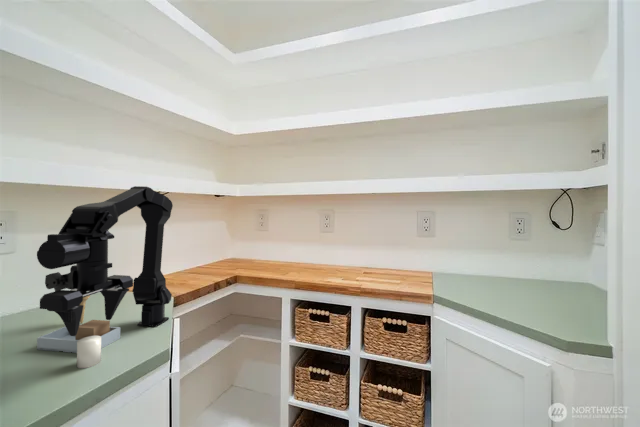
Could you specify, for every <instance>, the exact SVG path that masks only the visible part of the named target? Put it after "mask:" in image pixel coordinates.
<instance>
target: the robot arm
mask: <svg viewBox="0 0 640 427" xmlns="http://www.w3.org/2000/svg"><path fill="white" fill-rule="evenodd" d="M136 207H137V208H138V209H140V216H141V218H142V220H143V221H144V223H145V231H144V232H145V234H144V235H145V236H144V245H143V248H144V249H143V259H142V270H141V273H140V274H139V275H138V276H137V277H134V279H133V277H132V276H130V275H125V274H124V275H123V274H122V275H121V274H120V275H118V274H113V275H110V276H109V275H108V272H109V269H111V268H113V262H109V261H108V260H109V259H108V258H109V249H108V248H109V240H112V239H115V235H114V234H113V233H111V232H110V231H109V230H110V229H112V228H113V227H114V226H115V225H116V223H117V224H118V222H119V217H121V215H124V214H125V213H127V212H128V211H130V210H132V209H133V208H136ZM173 207H174V206H173V202H172V200H171V199H170V198H169V197H168V196H166V195H165V194H162V193H160V192H157V191H156V190H154V189H153V188H151V187H149V186H131V187H130V188H129V189H128V190H126V191H123V192H121V193H119V194H117V195H115V196H113V197H111V198H108V199H106V200H105V201H100V202H93V203H86V204H82V205H77V206H75V207H74V208H72V211H71V214H70V215H69V217H68V219H67V220H66V221H65V223H64V224H63V226H62V227H61V229H60V231H58V233H51V234H47V236H46V238H47V240H46V241H44V242H42V243H41V245H40V246H39V248H38V250H37V252H36V258H37V261H38V262H39V265H41V266H42V268H45V269H49V270H55V269H59V268H63V267H69V266H71V267H70V272H68V273H64V274H61V273H60V272H59V271H57V272H53V273H49V274H46V275H45V280H44V284H45V288H46V289H47V290H52V289H54V291H52V292H49V293H46V294H45V293H44V294H43V295H42V296H41V297H40V299H39V309H40V310H46V311H48V312H55V313H56V314H57V315H58V316H59V317H60V318H61V320H62V322H63V324H64V327H65V326H66V328H67V330H68V332H69V334H70V336H76V334H77V332H78V328H79V324H81V323H80V320H81V315H82V311H83V307H84V306H83V305H80V304H81V302H82V301H83V297H86V296H89V295H90V296H92V295H95V294H97V293H100V294H101V295H102V296H103V298H104V315H105V321H111V320H112V318H113V316H114V315H115V313H116V312H117V309H118V307H119V305H120V304H121V302H122V301H123V299H124V298H125V295H126V294H127V292H129V291H130V288H132V287H133V288H132V290H131V291H132V296H133V299H134V301H135V305H137V306H138V305H141V316H140V317H141V318H140V320H141V321H139V322H138V323H137V322H136V325H137V326H141V327H143V326H144V327H158V326H159V325H162V324H163V323H165V322H166V321H169V319H170V318H169V317H167V316H165V315H166V314H165V309H166V308H165V306H166V305H167V304H170V302H171V300H172V297H173V296H172V293H171V292H170V290H169V289H168V287H167V286H166V285H167V284H166V283H167V282H166V278H165V276H164V274H163V272H162V270H161V269H162V260H163V259H162V256H163V245H164V244H163V243H164V231H165V224H166V223H167V222H168V220H169V219H170V217H171V216H172V215H171V214H172V210H173ZM67 289H68V290H67ZM71 289H77V290H76V291H70V290H71ZM86 291H89V292H86Z"/></svg>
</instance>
